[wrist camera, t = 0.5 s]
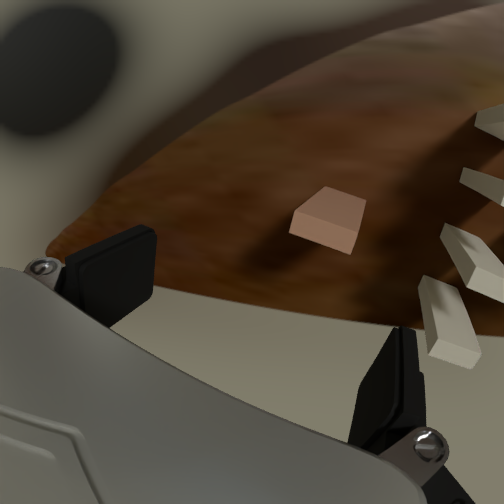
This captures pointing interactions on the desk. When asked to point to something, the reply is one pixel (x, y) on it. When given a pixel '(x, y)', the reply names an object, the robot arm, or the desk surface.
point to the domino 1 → (329, 219)
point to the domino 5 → (447, 324)
